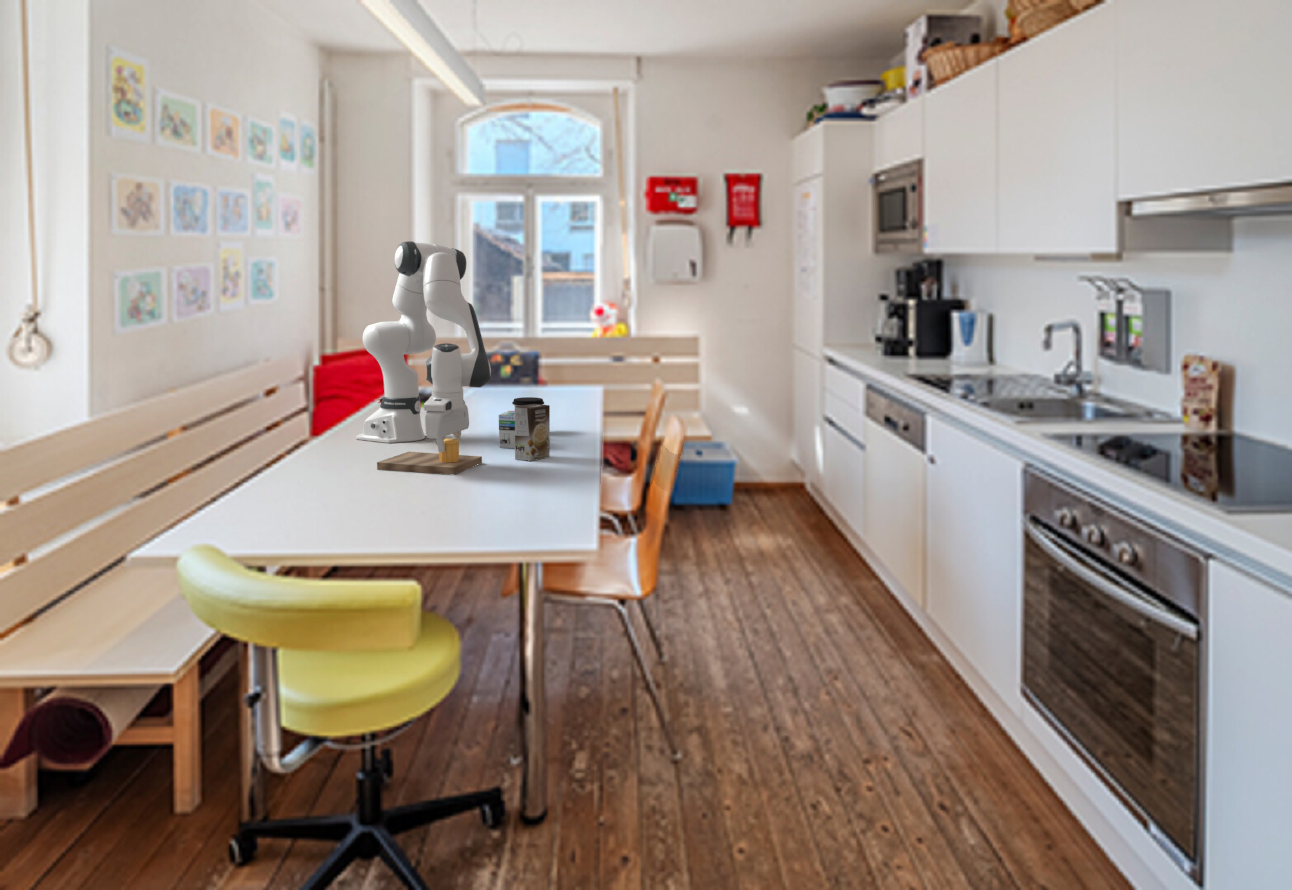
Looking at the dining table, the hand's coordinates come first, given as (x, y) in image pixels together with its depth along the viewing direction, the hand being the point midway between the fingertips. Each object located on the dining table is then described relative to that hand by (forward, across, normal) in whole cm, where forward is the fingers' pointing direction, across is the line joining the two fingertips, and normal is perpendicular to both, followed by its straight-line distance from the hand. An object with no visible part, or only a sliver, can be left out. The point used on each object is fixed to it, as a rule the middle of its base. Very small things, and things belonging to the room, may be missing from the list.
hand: (448, 449), depth 293 cm
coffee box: (+6, -21, +17) cm, 28 cm away
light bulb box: (+6, -39, +3) cm, 40 cm away
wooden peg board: (+5, 0, -6) cm, 8 cm away
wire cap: (+3, 0, 0) cm, 3 cm away
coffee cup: (+6, -63, -2) cm, 63 cm away
